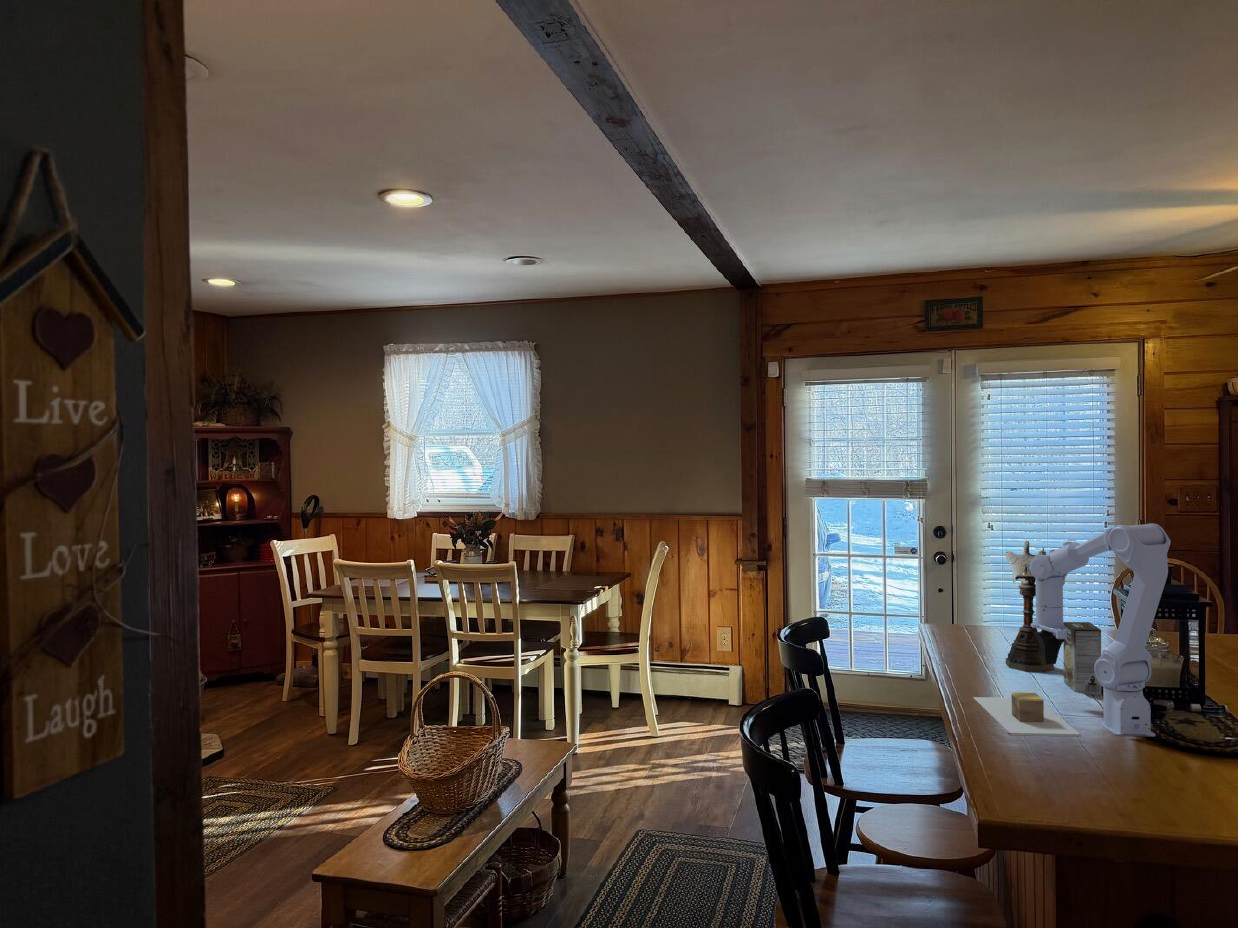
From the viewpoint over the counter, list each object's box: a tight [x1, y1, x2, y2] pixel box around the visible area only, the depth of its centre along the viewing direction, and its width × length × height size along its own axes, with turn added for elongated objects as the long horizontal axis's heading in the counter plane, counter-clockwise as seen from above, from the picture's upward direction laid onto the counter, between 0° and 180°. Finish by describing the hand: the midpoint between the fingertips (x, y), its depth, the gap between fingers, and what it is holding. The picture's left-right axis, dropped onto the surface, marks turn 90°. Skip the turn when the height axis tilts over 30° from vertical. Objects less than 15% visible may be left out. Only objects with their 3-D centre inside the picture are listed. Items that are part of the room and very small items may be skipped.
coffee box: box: [1063, 621, 1102, 696], centre depth 210 cm, size 9×6×16 cm
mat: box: [972, 696, 1082, 738], centre depth 190 cm, size 26×14×1 cm, turn 173°
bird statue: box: [1004, 540, 1055, 673], centre depth 230 cm, size 17×13×35 cm
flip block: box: [1011, 691, 1045, 722], centre depth 187 cm, size 5×5×5 cm
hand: (1050, 663), depth 200 cm, fingers closed
